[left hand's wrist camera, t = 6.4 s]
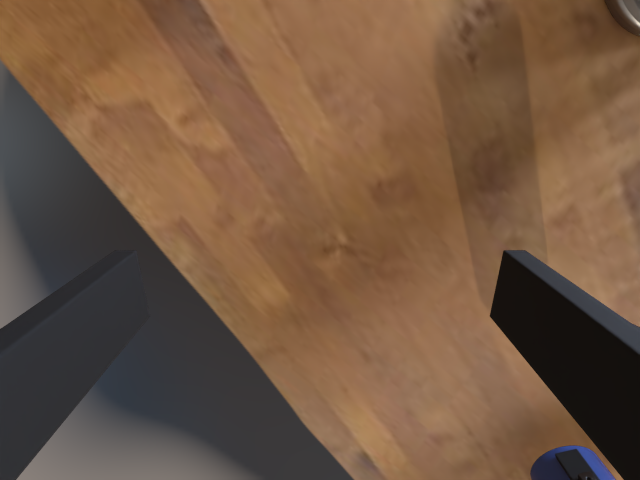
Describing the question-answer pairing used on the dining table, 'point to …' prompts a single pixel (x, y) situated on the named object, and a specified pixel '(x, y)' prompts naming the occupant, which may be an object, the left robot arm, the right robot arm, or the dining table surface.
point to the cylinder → (552, 476)
